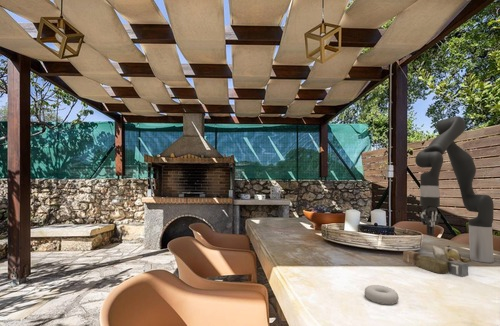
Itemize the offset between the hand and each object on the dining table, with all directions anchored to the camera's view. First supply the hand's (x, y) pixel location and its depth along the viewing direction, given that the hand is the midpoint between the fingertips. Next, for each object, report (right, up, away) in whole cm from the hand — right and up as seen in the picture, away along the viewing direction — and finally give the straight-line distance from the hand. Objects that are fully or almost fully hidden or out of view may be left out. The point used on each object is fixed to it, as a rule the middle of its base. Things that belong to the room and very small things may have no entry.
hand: (430, 234), depth 123 cm
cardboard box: (-3, -16, +10) cm, 19 cm away
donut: (-38, -12, -34) cm, 53 cm away
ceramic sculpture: (+16, -17, +10) cm, 25 cm away
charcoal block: (+7, -15, -7) cm, 18 cm away
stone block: (0, -15, -1) cm, 16 cm away
